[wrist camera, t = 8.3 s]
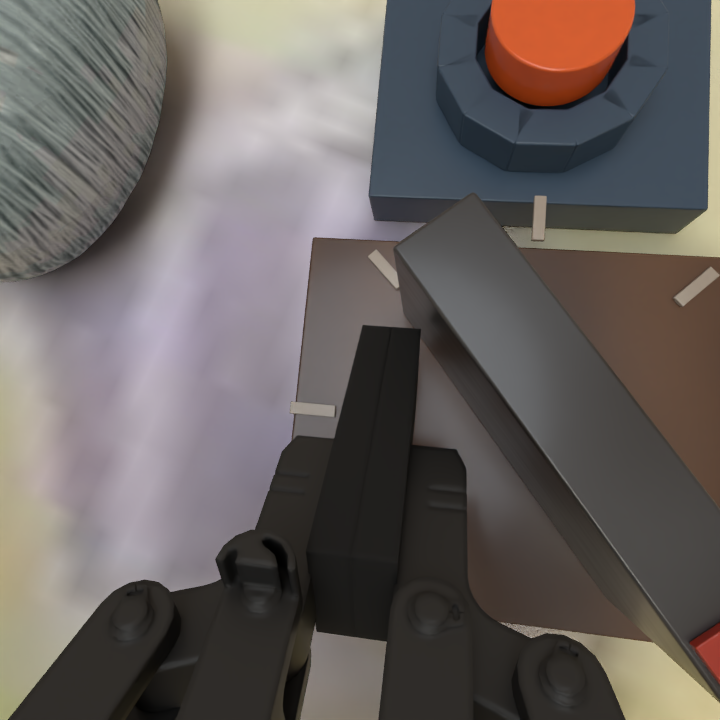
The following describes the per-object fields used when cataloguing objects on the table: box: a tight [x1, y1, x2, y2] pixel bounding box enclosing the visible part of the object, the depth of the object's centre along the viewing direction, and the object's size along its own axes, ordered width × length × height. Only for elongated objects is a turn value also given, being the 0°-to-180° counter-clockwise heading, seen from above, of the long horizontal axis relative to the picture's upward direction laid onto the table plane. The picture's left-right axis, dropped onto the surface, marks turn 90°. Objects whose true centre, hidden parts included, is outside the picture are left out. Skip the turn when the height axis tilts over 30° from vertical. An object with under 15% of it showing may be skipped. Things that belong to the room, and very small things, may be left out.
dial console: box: [290, 196, 720, 642], centre depth 17 cm, size 14×14×4 cm
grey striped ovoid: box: [0, 0, 167, 282], centre depth 19 cm, size 14×10×10 cm
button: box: [485, 0, 635, 107], centre depth 16 cm, size 4×4×2 cm
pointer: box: [393, 192, 720, 703], centre depth 13 cm, size 10×2×6 cm, turn 34°
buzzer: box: [369, 0, 711, 233], centre depth 19 cm, size 11×9×4 cm
